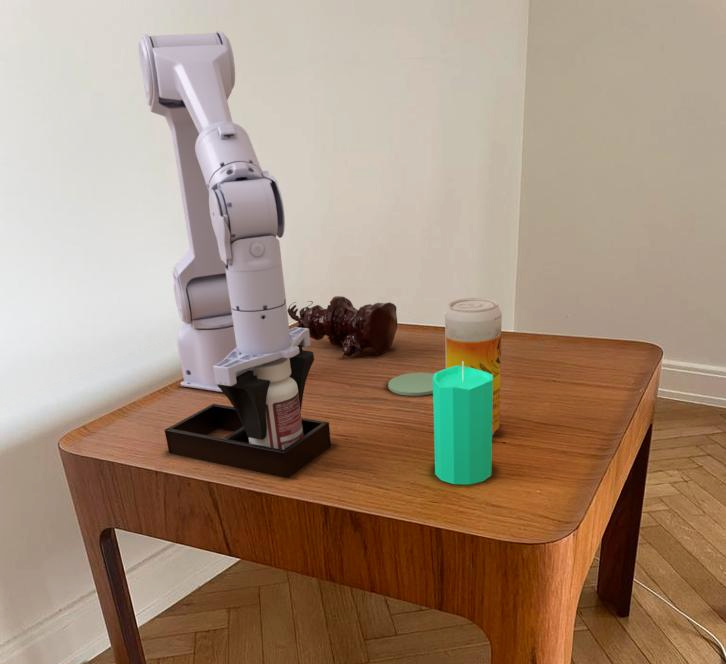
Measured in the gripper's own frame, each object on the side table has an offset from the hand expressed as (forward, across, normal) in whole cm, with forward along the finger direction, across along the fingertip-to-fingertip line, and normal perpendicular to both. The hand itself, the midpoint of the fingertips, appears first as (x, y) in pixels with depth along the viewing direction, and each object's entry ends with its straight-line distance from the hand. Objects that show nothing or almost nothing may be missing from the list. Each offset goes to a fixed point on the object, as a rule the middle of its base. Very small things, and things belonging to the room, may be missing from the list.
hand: (274, 426), depth 83 cm
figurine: (+4, +37, +14) cm, 40 cm away
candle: (+4, +4, -21) cm, 22 cm away
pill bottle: (+4, 0, 0) cm, 4 cm away
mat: (+4, +26, -5) cm, 27 cm away
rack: (+4, 0, +4) cm, 5 cm away
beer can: (+4, +14, -18) cm, 23 cm away
